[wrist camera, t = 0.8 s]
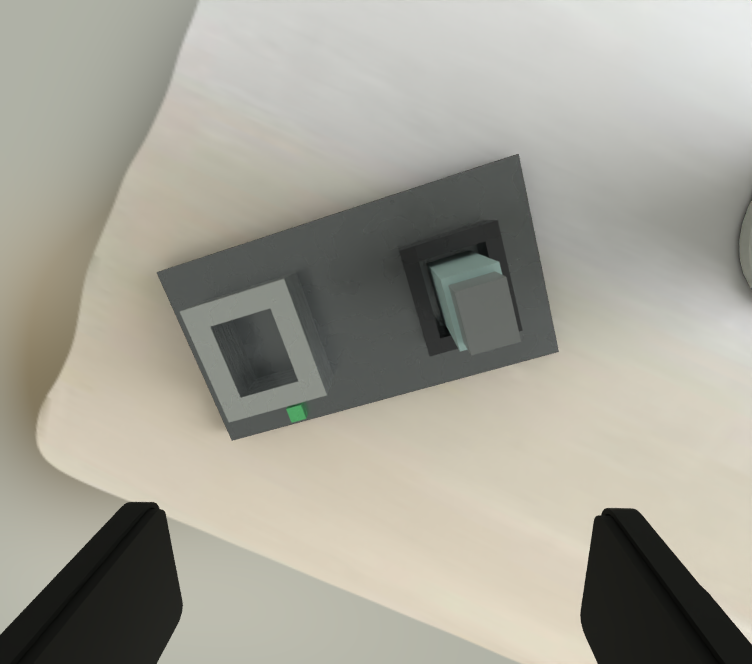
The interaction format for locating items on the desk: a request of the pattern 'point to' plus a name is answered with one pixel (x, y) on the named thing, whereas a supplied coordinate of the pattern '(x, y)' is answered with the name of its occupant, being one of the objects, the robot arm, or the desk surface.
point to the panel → (357, 302)
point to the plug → (474, 301)
